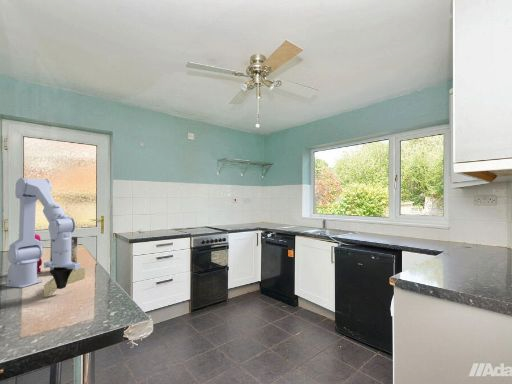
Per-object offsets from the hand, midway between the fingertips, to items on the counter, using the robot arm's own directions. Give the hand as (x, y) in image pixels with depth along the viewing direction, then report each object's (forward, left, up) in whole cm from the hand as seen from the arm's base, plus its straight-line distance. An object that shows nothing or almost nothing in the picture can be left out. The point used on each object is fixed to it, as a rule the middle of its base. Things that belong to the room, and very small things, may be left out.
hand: (61, 288), depth 95 cm
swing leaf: (-6, +1, -2) cm, 6 cm away
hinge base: (-9, +11, -2) cm, 14 cm away
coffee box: (-29, +24, -2) cm, 38 cm away
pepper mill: (-41, +18, -2) cm, 45 cm away
